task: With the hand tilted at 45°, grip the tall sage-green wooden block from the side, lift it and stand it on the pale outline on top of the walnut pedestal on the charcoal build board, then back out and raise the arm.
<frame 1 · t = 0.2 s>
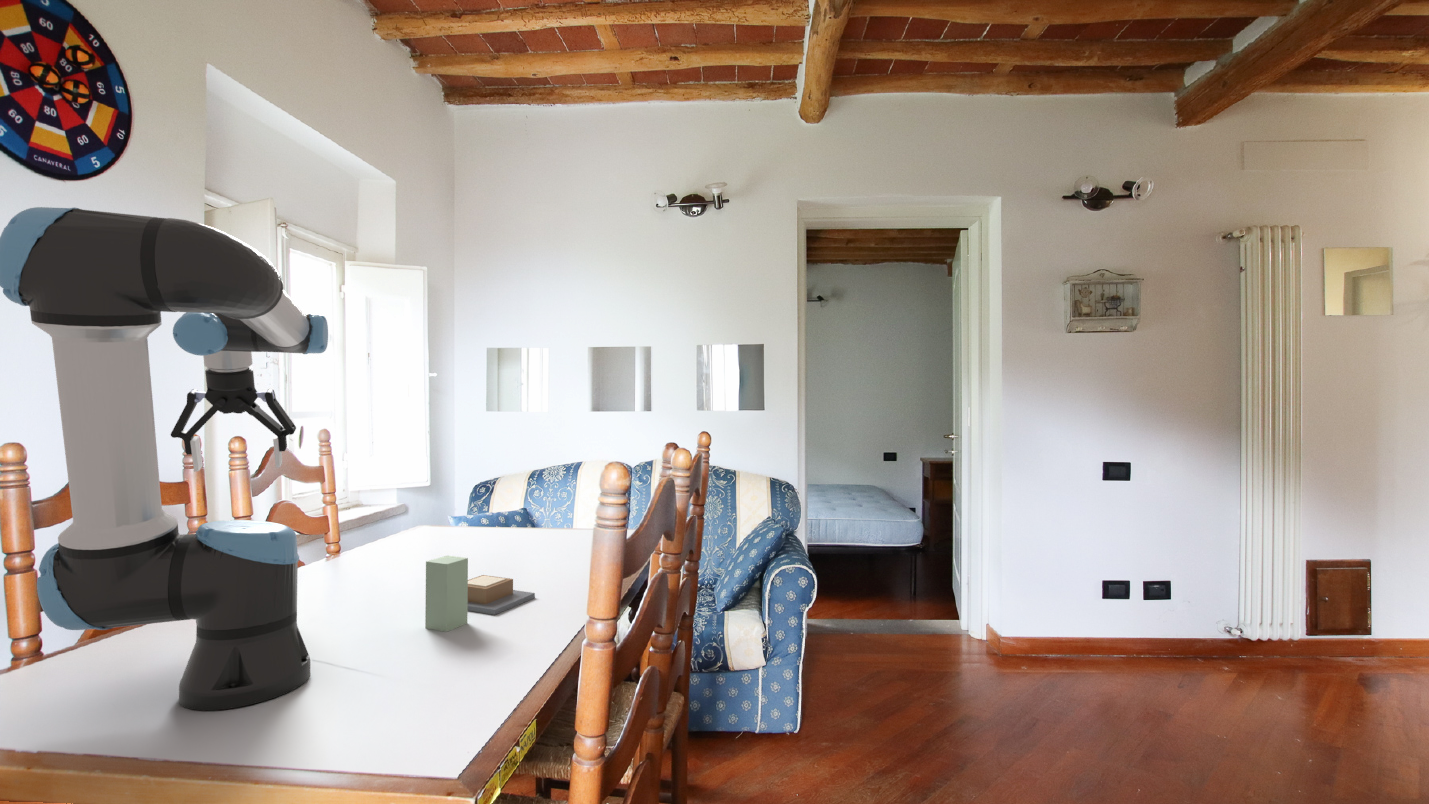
hand: (239, 467, 131), 27 cm above the table, fingers open, 13 cm apart
sage block: (446, 625, 116), on the table
build base: (484, 601, 131), on the table
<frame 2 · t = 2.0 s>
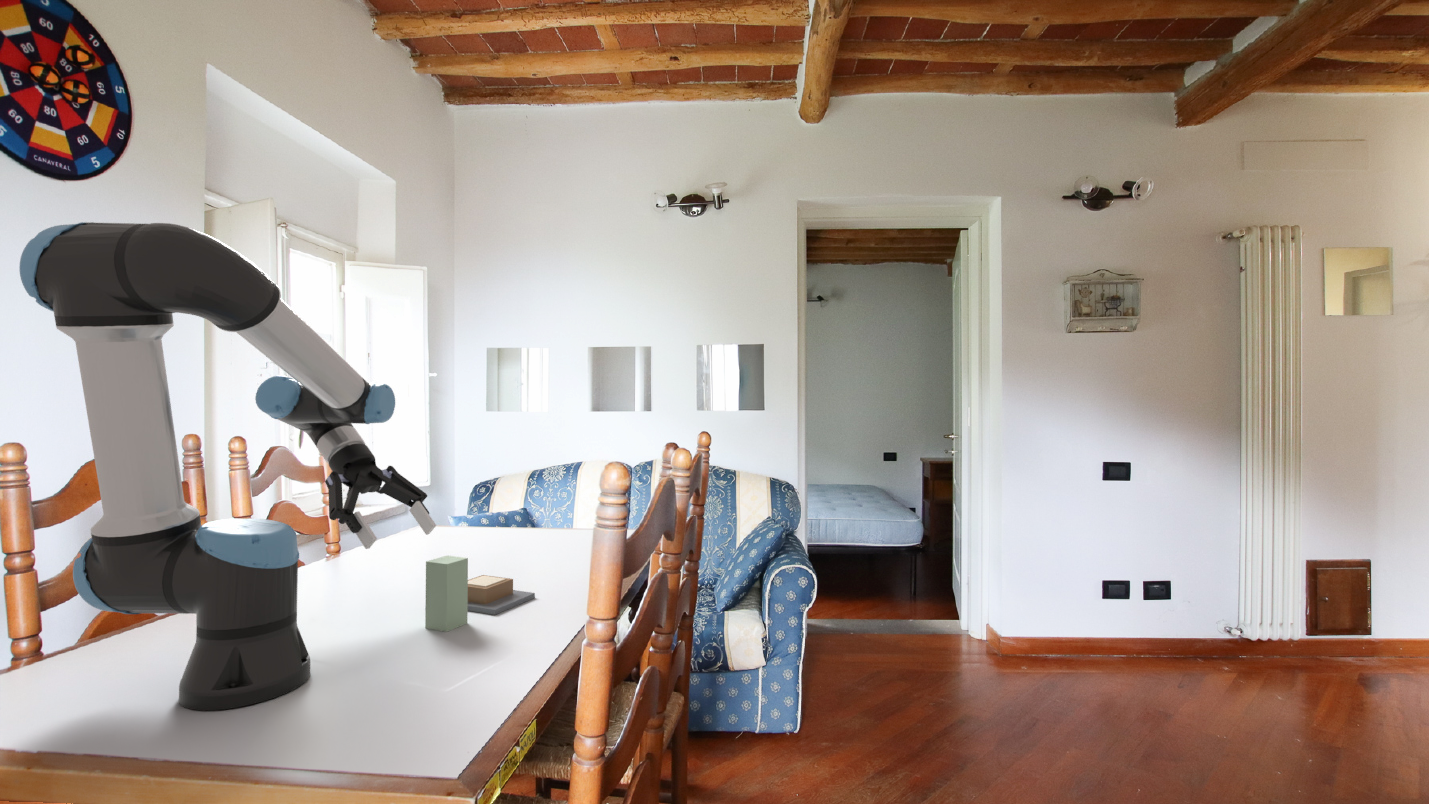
hand: (403, 536, 120), 15 cm above the table, fingers open, 13 cm apart
nothing on the table moved.
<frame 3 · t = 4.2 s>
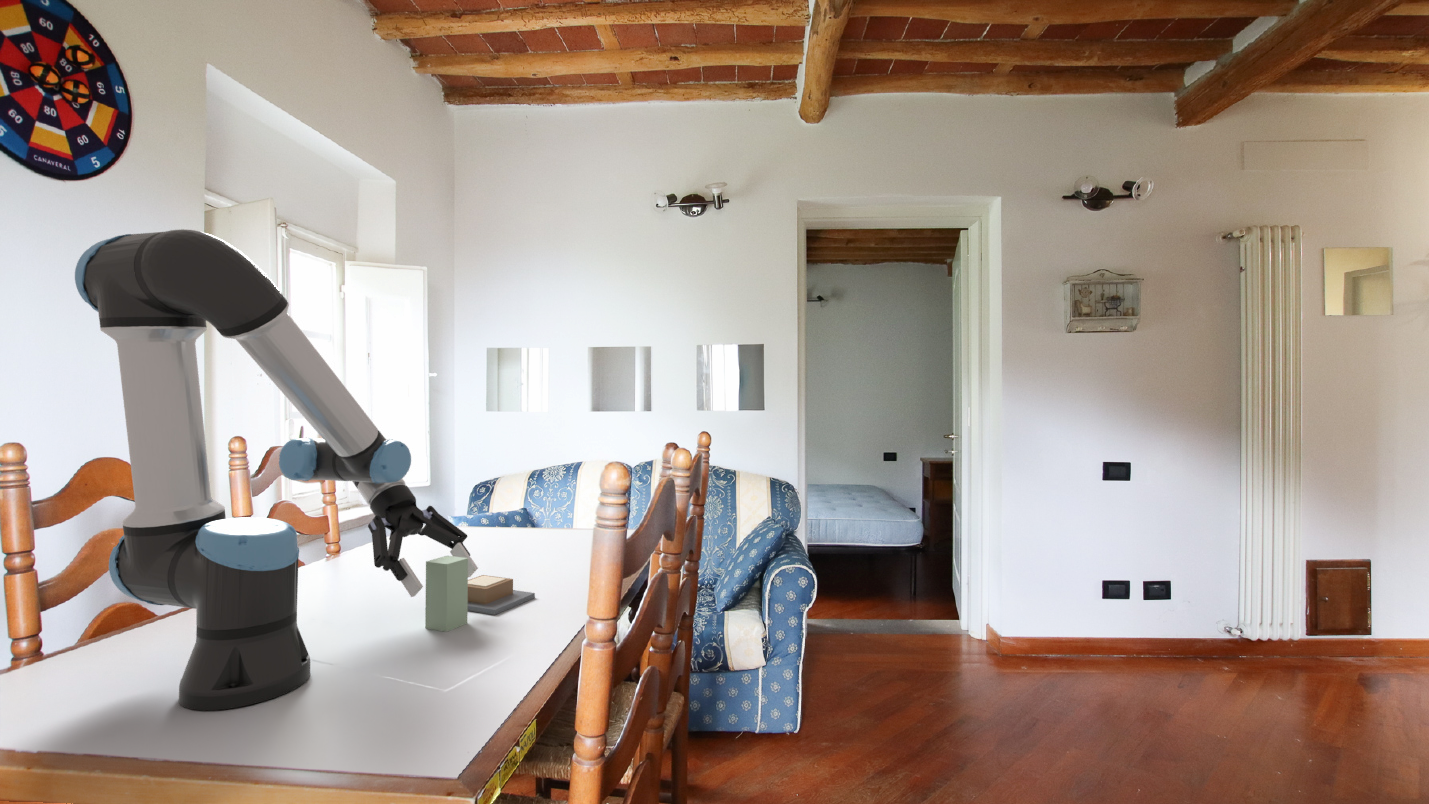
hand: (446, 582, 118), 7 cm above the table, fingers open, 13 cm apart
nothing on the table moved.
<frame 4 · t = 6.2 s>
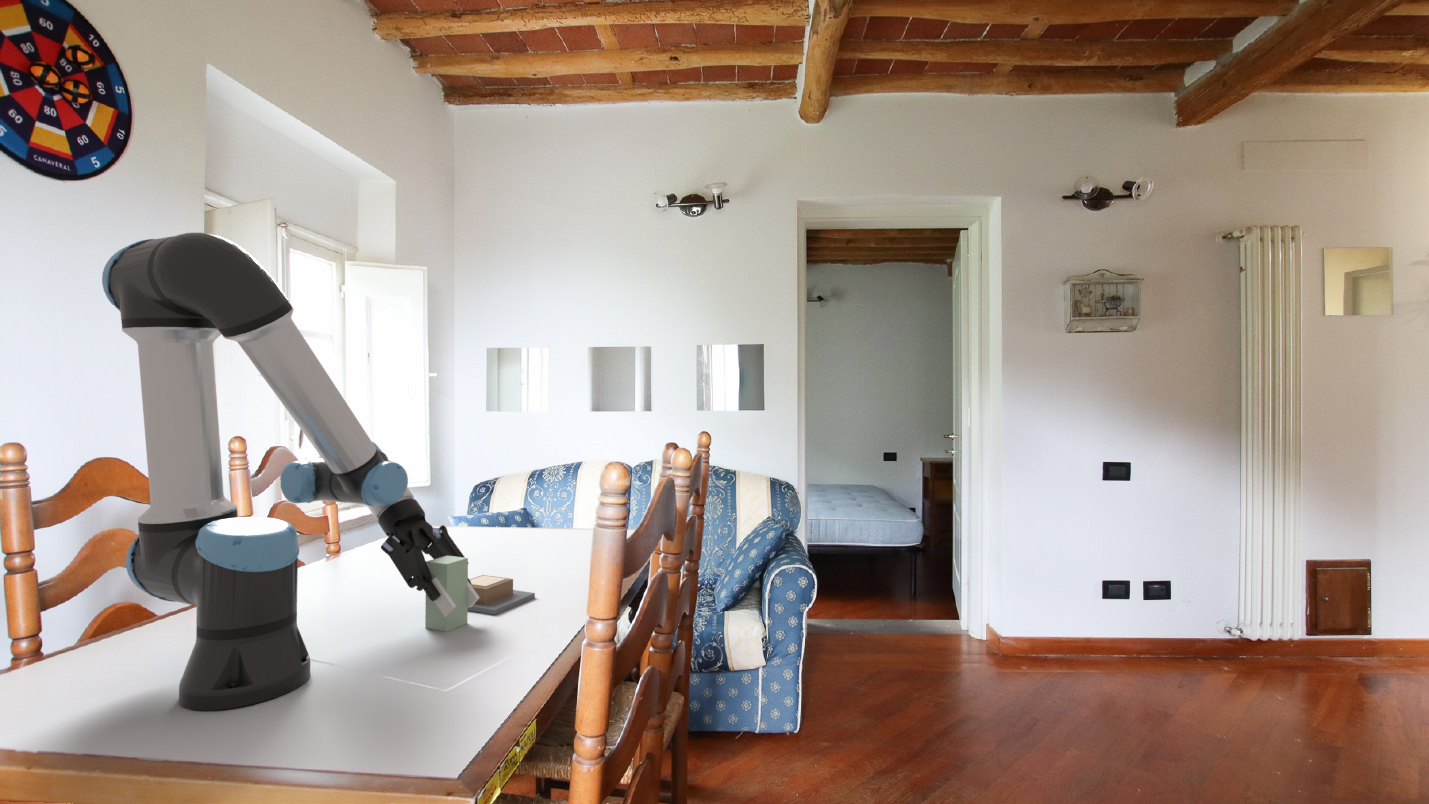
hand: (462, 606, 115), 4 cm above the table, fingers closed on sage block, 5 cm apart
sage block: (446, 625, 116), on the table, touching gripper
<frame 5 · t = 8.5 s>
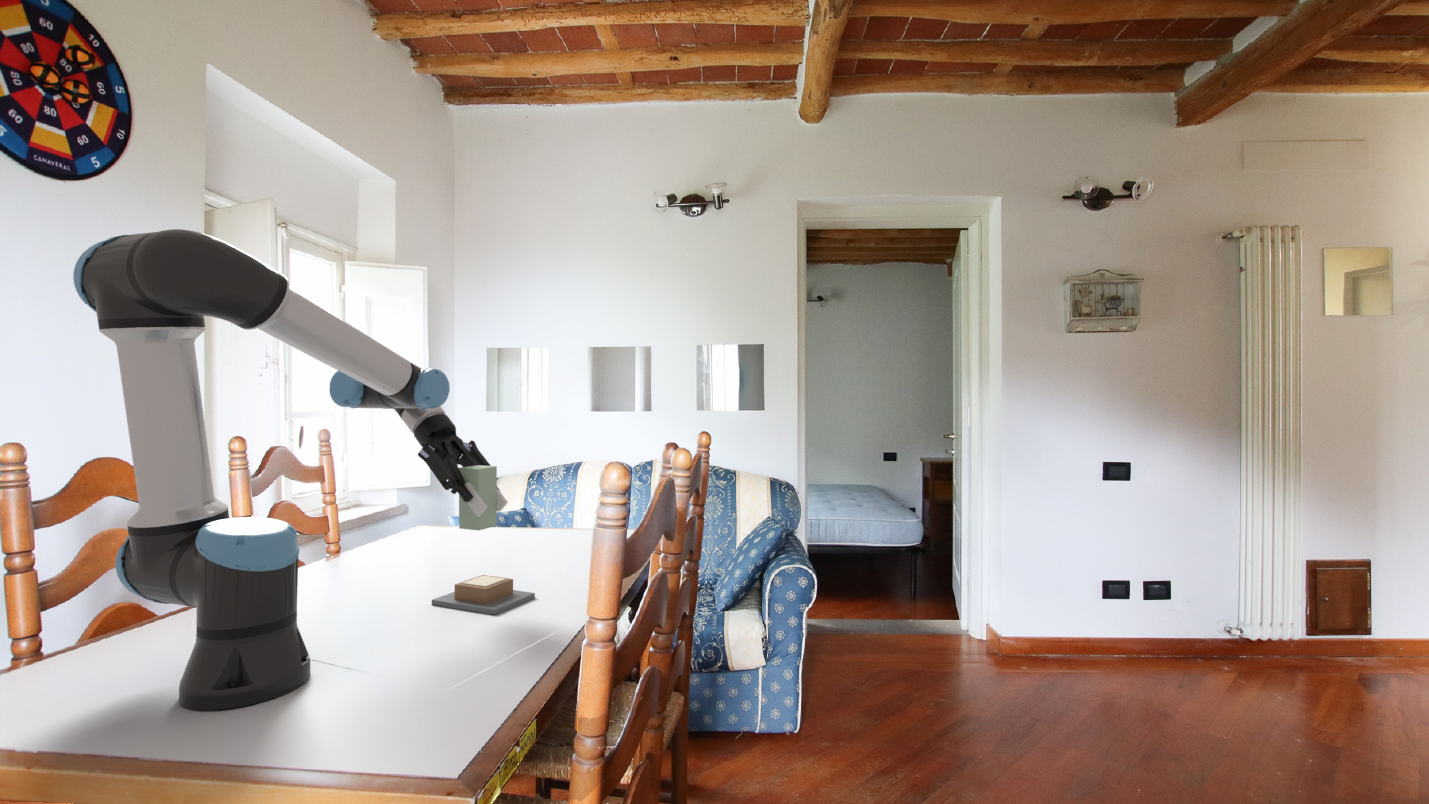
hand: (492, 509, 126), 20 cm above the table, fingers closed on sage block, 5 cm apart
sage block: (478, 526, 127), point 16 cm above the table, touching gripper
when the fingers open (9 cm above the table, at t = 11.2 s): sage block drops 1 cm, resting on build base.
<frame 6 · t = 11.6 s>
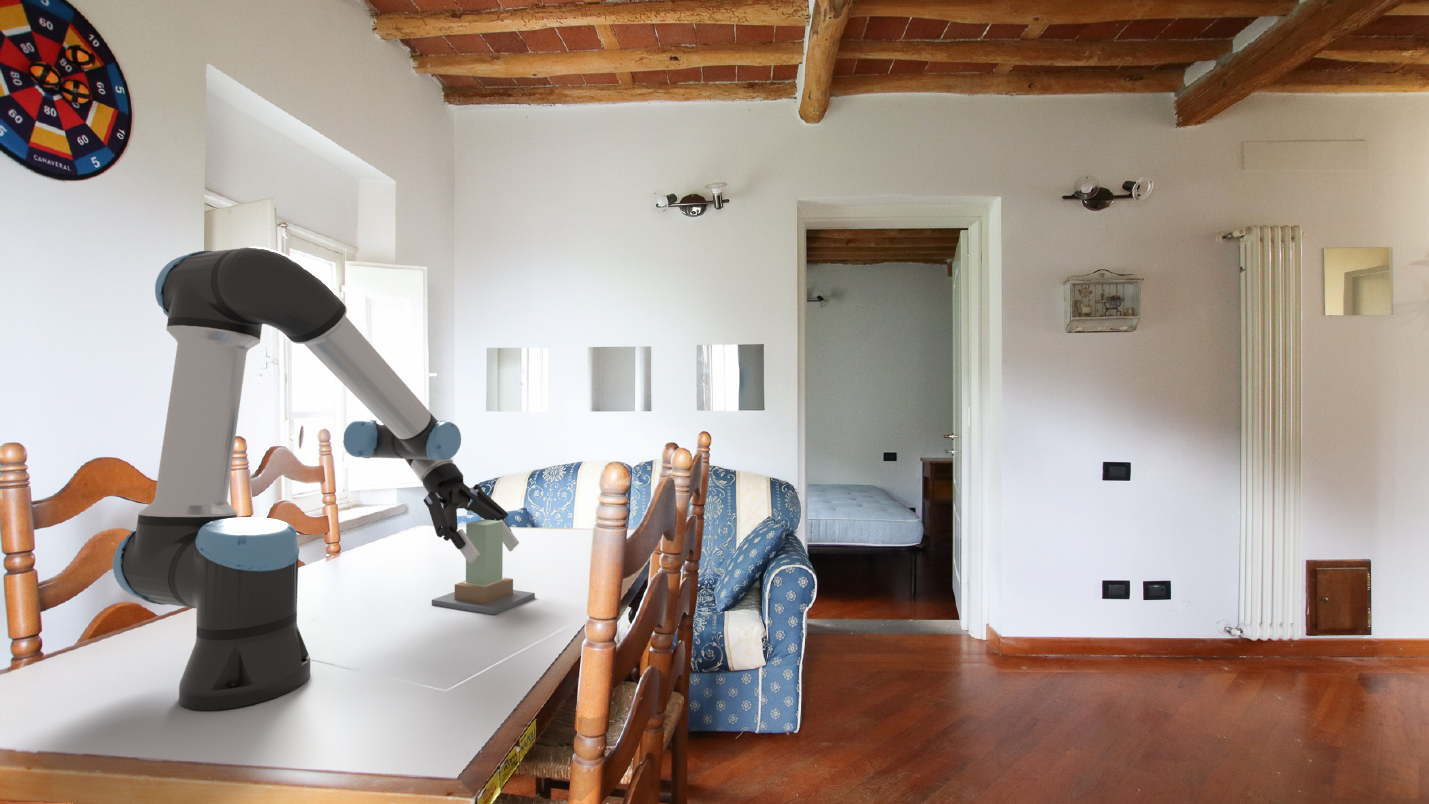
hand: (495, 552, 130), 10 cm above the table, fingers open, 11 cm apart
sage block: (484, 580, 131), point 4 cm above the table, touching build base
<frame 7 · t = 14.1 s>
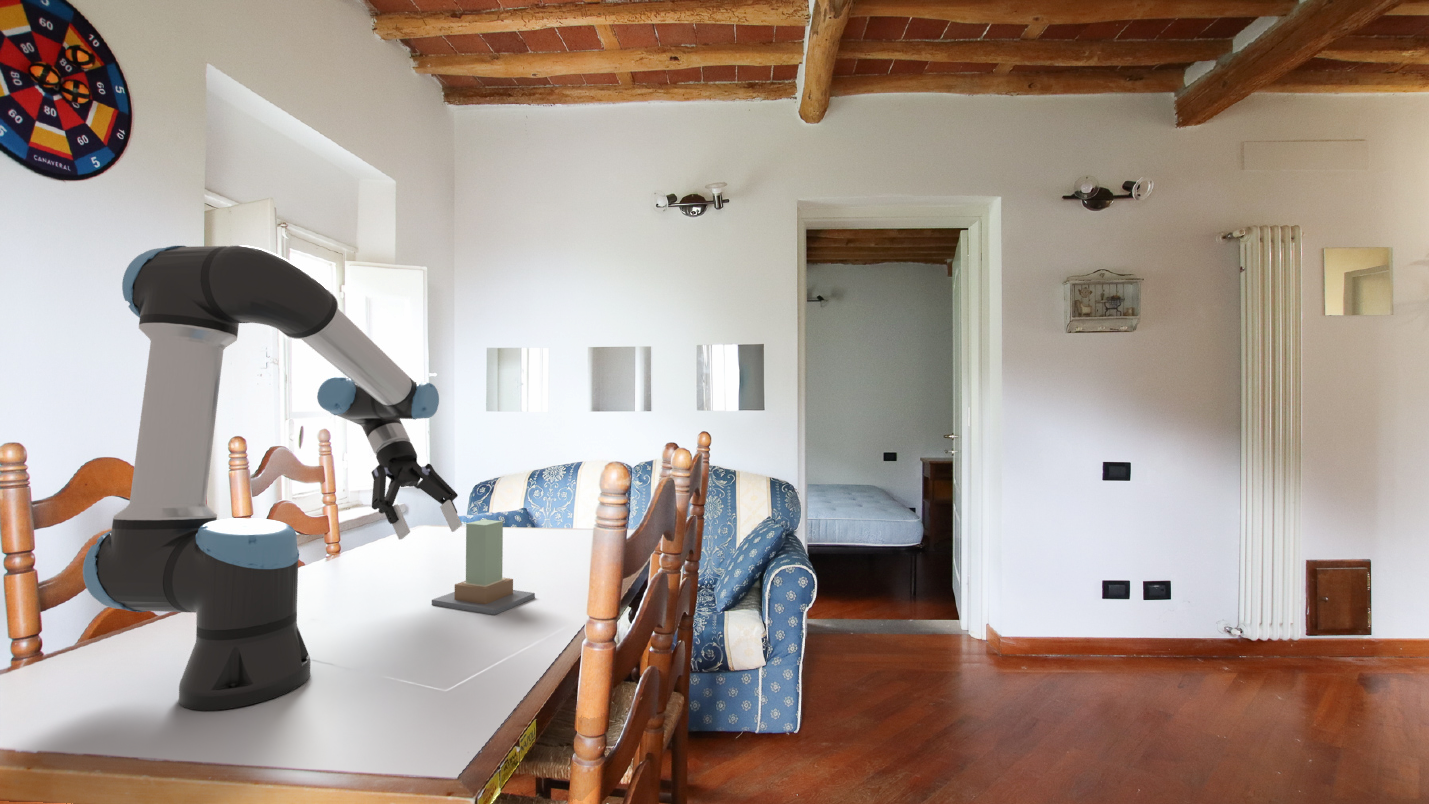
hand: (432, 532, 133), 14 cm above the table, fingers open, 13 cm apart
nothing on the table moved.
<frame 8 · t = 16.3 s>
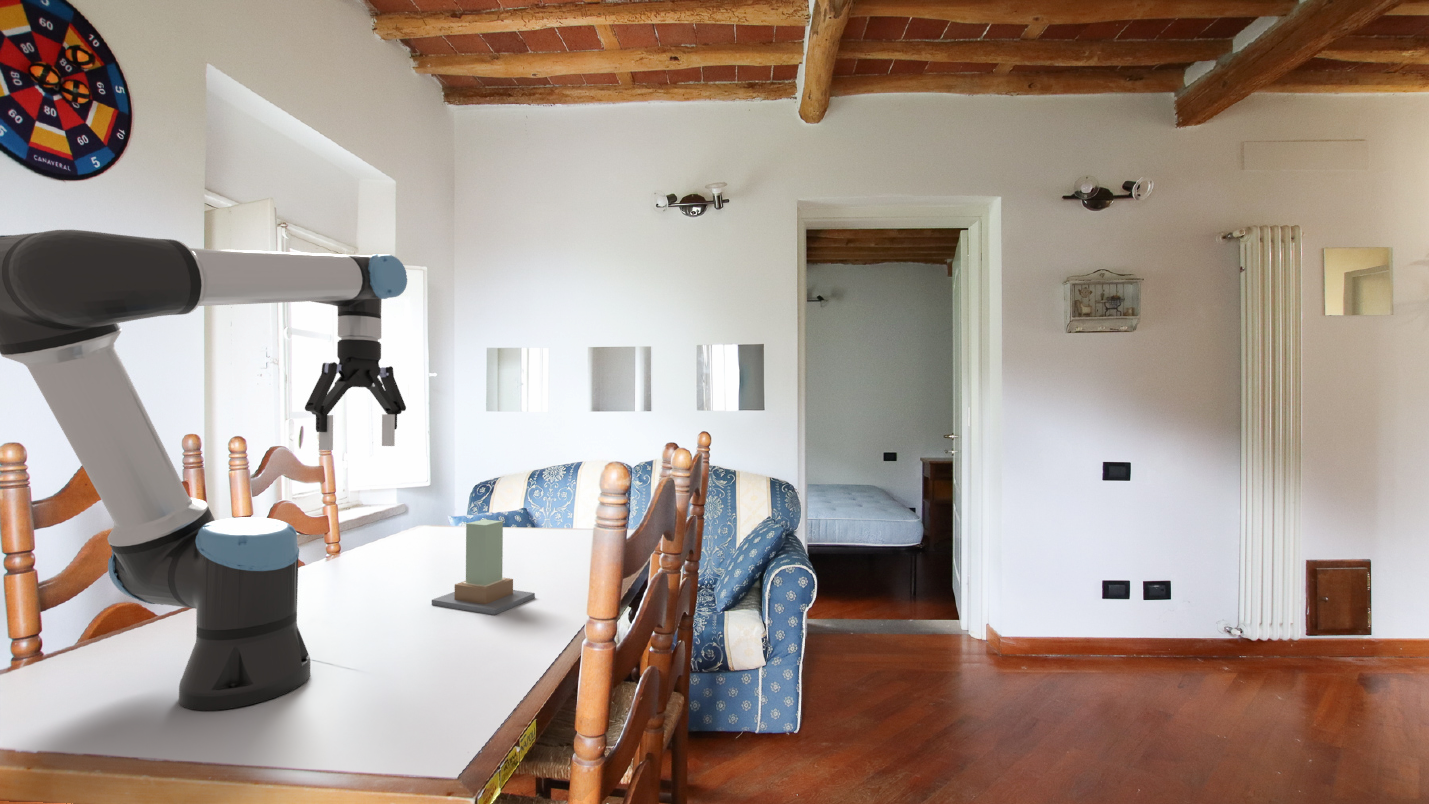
hand: (358, 448, 125), 32 cm above the table, fingers open, 13 cm apart
nothing on the table moved.
at the end: sage block inside the target area (0.0 cm from its centre), point 4.2 cm above the table; sage block tilted 0°; the gripper is holding nothing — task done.
